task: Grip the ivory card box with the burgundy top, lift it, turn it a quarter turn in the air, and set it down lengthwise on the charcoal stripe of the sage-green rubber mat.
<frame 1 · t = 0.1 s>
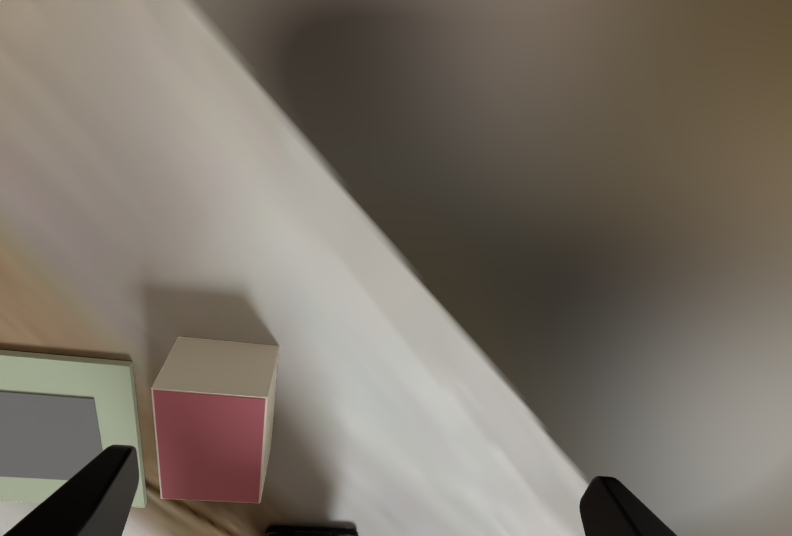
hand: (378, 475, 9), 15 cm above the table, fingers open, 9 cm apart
mat: (10, 430, 27), on the table
card box: (229, 393, 27), on the table
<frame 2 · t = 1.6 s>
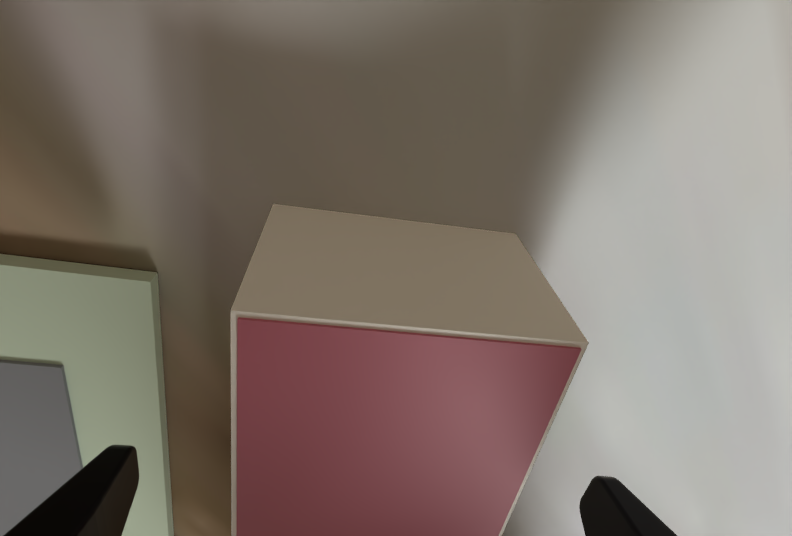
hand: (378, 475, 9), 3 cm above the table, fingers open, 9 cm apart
card box: (372, 359, 12), on the table
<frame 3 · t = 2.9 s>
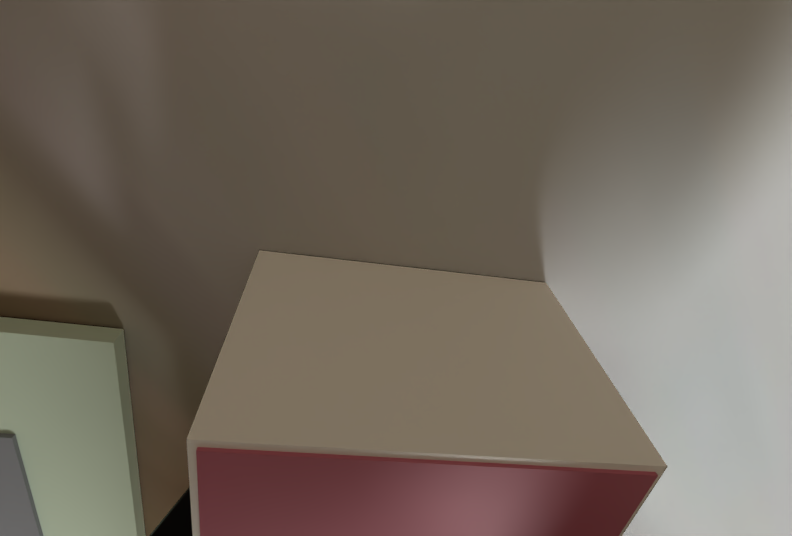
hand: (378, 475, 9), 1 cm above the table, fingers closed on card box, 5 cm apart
card box: (376, 425, 10), on the table, touching gripper
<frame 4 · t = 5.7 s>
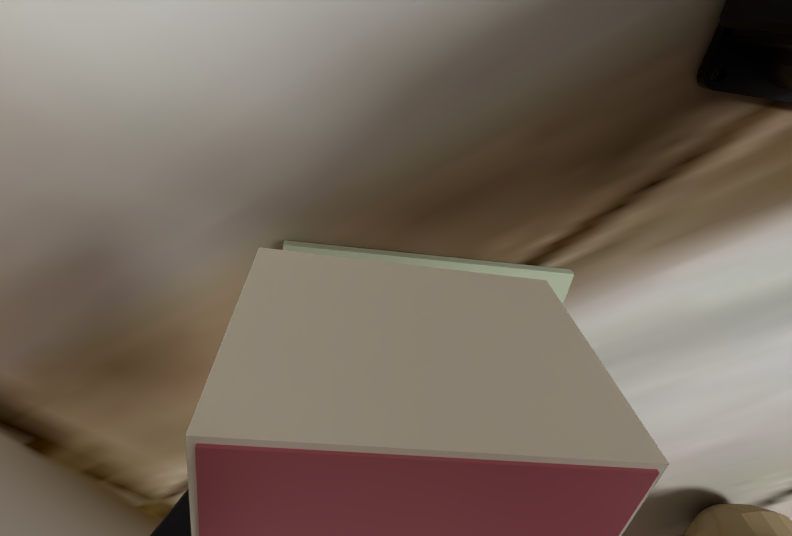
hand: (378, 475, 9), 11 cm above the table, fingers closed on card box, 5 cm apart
decorative mushroom: (709, 508, 30), on the table
mat: (406, 383, 23), on the table
card box: (375, 424, 10), point 10 cm above the table, touching gripper
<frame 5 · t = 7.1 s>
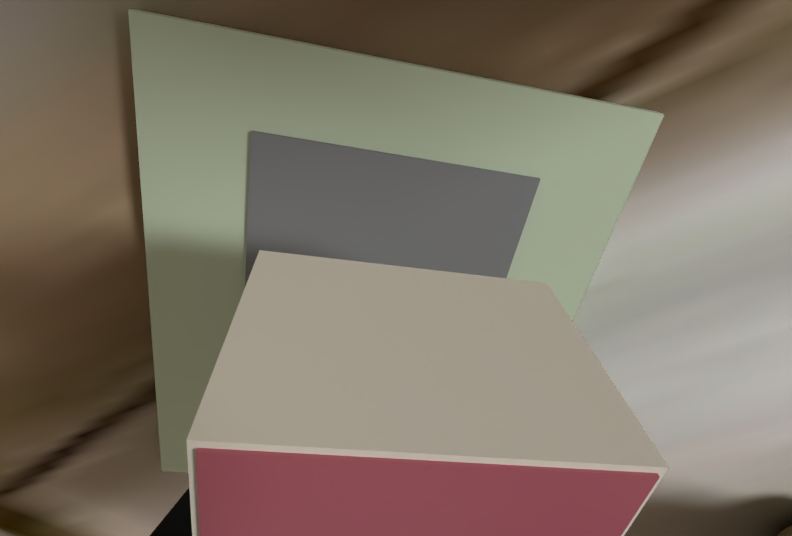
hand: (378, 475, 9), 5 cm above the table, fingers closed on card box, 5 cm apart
mat: (368, 315, 14), on the table
card box: (376, 426, 10), point 4 cm above the table, touching gripper
when the fingers open (3 cm above the table, at t = 8.4 s): card box drops 1 cm, resting on mat.
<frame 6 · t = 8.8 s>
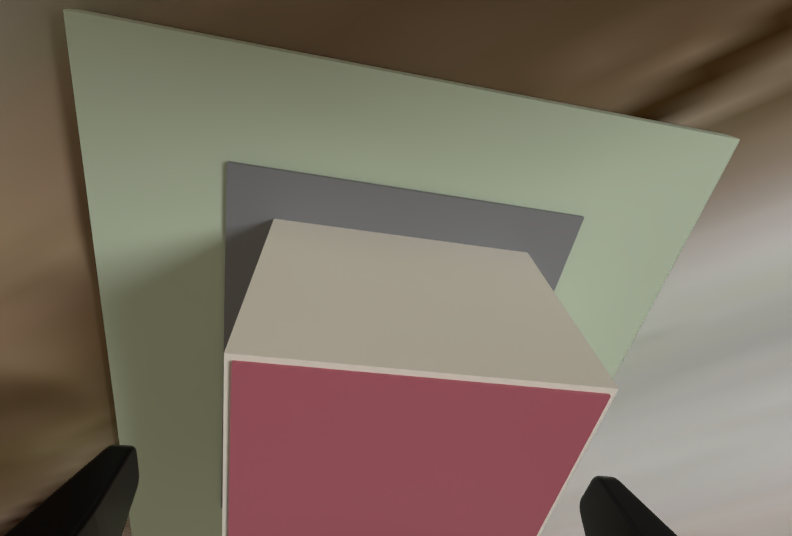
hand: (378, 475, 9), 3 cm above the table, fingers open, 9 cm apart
mat: (372, 371, 12), on the table
card box: (374, 384, 11), resting on mat
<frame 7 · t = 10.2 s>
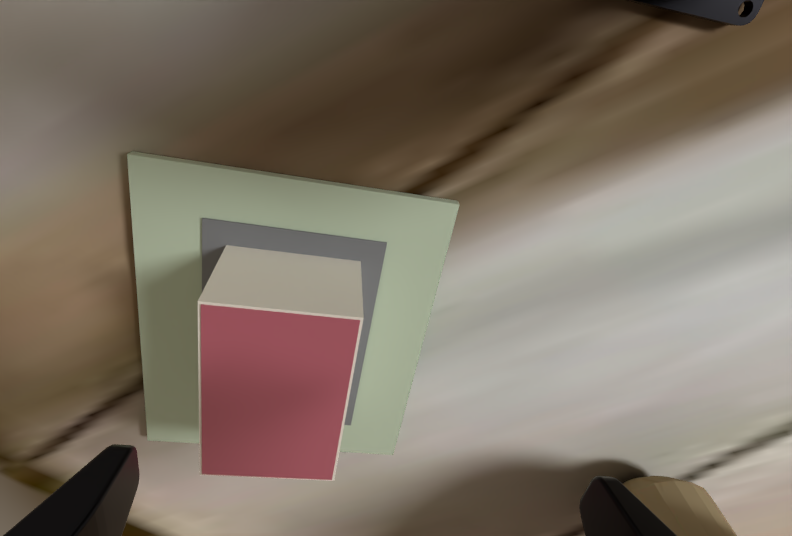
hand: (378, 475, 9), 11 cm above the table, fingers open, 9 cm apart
decorative mushroom: (629, 483, 29), on the table
mat: (287, 329, 21), on the table
card box: (287, 335, 21), resting on mat
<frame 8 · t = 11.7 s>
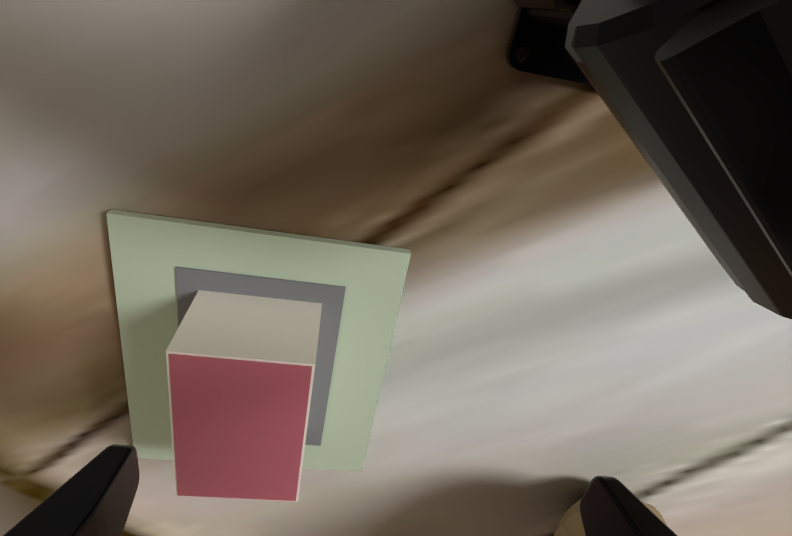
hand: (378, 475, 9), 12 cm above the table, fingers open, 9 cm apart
decorative mushroom: (589, 498, 31), on the table
mat: (259, 361, 23), on the table
card box: (257, 367, 22), resting on mat
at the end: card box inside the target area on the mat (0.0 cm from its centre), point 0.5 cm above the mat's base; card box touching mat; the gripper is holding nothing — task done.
